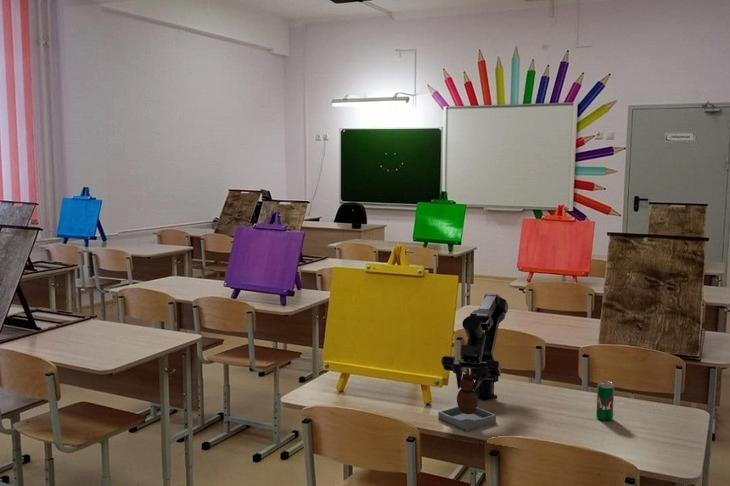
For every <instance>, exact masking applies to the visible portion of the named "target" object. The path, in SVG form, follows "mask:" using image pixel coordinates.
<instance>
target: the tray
mask: <svg viewBox="0 0 730 486" xmlns="http://www.w3.org/2000/svg"><path fill="white" fill-rule="evenodd" d="M437 413H438V414H437V415H438V416H437V418H438V420H439V421H441V422H444V423H446V424H449V425H450V426H452V427H454V426H455V427H454V428H457V429H459V430H461V429H462V431H463V430H464V431H463V432H465V431H466V432H465V433H467V431H468V432H470V431H471V432H472V431H474V430H478V429H479V428H482V427H486V426H489V425H493V424H495V423H497V414H495V413H493V412H490V411H488V410H485V409H482V408H480V407H478V406H477V408H476V410H475V412H474V413H473V414H464V413H462V412H461V411H460V410H459V407H458V405H457V406H453V407H451V408H447V409H444V410H440V411H438V412H437Z"/></svg>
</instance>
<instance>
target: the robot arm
mask: <svg viewBox="0 0 730 486" xmlns="http://www.w3.org/2000/svg"><path fill="white" fill-rule="evenodd" d="M482 300H483V301H482V303H481V304H480V306H479V308H478V309H476V310H472V312H470V315H468V316H467V317H465V318H464V319H463V320H462V323H461V324H462V329H463V330H464V333H465V336H466V338H467V340H466V344H461V345H460V354H459V355H460V356H461V357H460V358H461V360H460V359H456V357H455V356H453V355H443V356H442V357H441V361H440V363H441V365H442V367H443V370H444V371H450V372H452V373H453V374H455V377H456V385H457V389H458V390H461V387H460V381H461V379H462V376H463V371H462V368H466V369H470V370H471V369H473V380H474V391H475V393H476V394H477V397H478V399H479V400H482V401H487V400H492V399H494V398H498V395H497V394H495V393H494V392H495V383H497V382H499V377H500V376H501V373H502V368H501V364H500V362H499V360H495V359H494V352H495V346H496V342H497V338H498V337H497V336H498V331H499V325H500V323H502V322H503V321H504V320H505V319H506V314H507V313H508V311H509V304H508V302H507V300H506V299H505V298H503V297H502V296H500V294H498V293H485V294H484V298H483V299H482Z"/></svg>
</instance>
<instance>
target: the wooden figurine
mask: <svg viewBox="0 0 730 486" xmlns="http://www.w3.org/2000/svg"><path fill="white" fill-rule="evenodd" d="M474 383H475V380H473V369H471V368H467V371H465V372H464V373H463V372H462V379H461V381H460V389H459V390H458V392H457V395H456V404H457V406H458V407H459V410H460V411H461V412H462V413H464V414H473V413H474V412H475V410H476V408H477V407H478V403H479V402H478V400H479V398H478V397H477V394H476V393H475V391H474Z"/></svg>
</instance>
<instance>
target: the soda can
mask: <svg viewBox="0 0 730 486" xmlns="http://www.w3.org/2000/svg"><path fill="white" fill-rule="evenodd" d="M596 388H597V390H596V414H595V415H596V419H598V420H600V421H603V422H610V421H612V420H613V419H614V400H615V399H614V397H615V396H614V395H615V385H614V383H613V382H612V381H609V380H600V381H598V383H597V386H596Z"/></svg>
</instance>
